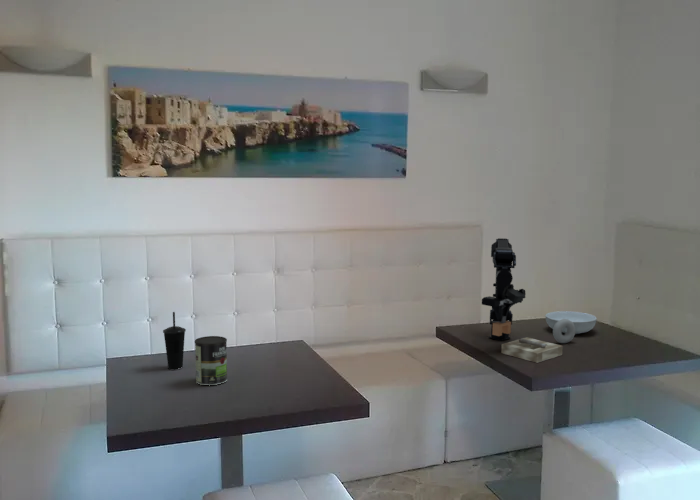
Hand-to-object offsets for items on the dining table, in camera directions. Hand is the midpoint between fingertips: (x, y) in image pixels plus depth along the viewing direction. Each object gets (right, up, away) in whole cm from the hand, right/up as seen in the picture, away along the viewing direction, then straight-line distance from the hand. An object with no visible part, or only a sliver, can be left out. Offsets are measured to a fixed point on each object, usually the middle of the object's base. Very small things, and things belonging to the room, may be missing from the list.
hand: (501, 321), depth 256 cm
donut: (+27, -10, +10) cm, 31 cm away
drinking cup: (-120, -14, -24) cm, 123 cm away
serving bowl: (+36, -8, +29) cm, 47 cm away
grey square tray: (+10, -12, -6) cm, 17 cm away
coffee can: (-105, -16, -38) cm, 112 cm away
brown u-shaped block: (0, -5, +1) cm, 5 cm away
